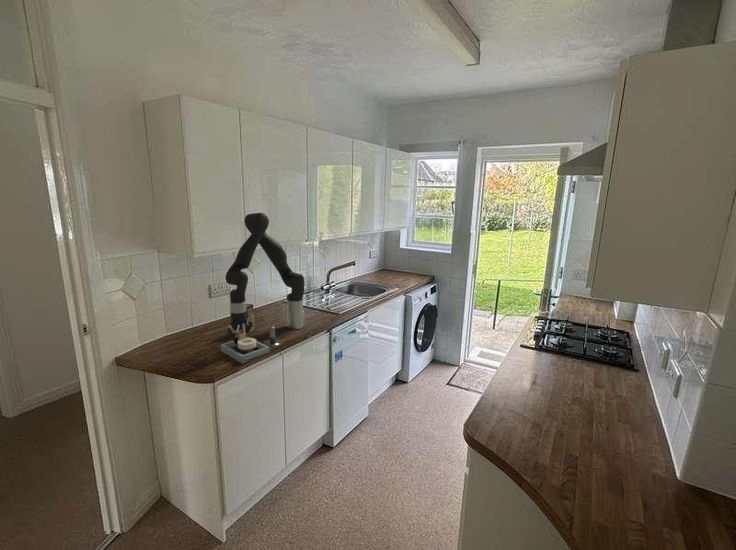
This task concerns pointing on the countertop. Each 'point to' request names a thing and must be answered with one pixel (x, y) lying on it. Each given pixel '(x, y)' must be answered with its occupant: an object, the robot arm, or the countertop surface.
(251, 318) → the coffee box
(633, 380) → the countertop surface
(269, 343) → the stake
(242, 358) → the tray
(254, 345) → the ring
